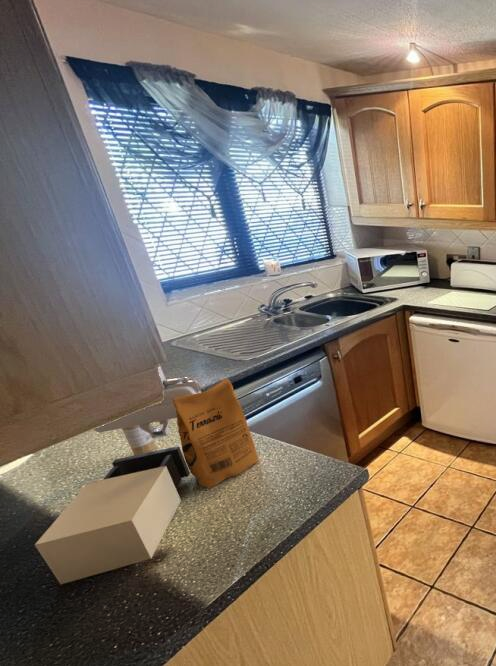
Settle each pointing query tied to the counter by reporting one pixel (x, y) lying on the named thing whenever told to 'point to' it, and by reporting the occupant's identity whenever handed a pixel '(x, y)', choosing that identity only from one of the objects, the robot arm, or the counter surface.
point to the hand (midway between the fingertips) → (161, 435)
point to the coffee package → (214, 434)
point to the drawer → (152, 464)
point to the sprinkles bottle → (139, 440)
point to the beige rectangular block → (110, 525)
